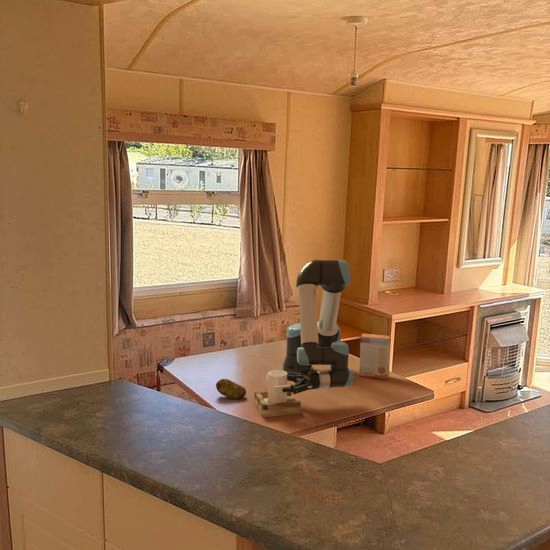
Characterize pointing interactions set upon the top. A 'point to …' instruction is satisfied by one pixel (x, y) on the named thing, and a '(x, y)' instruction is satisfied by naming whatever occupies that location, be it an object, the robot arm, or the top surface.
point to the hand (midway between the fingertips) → (269, 384)
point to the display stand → (276, 405)
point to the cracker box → (375, 356)
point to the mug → (276, 380)
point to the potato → (230, 389)
